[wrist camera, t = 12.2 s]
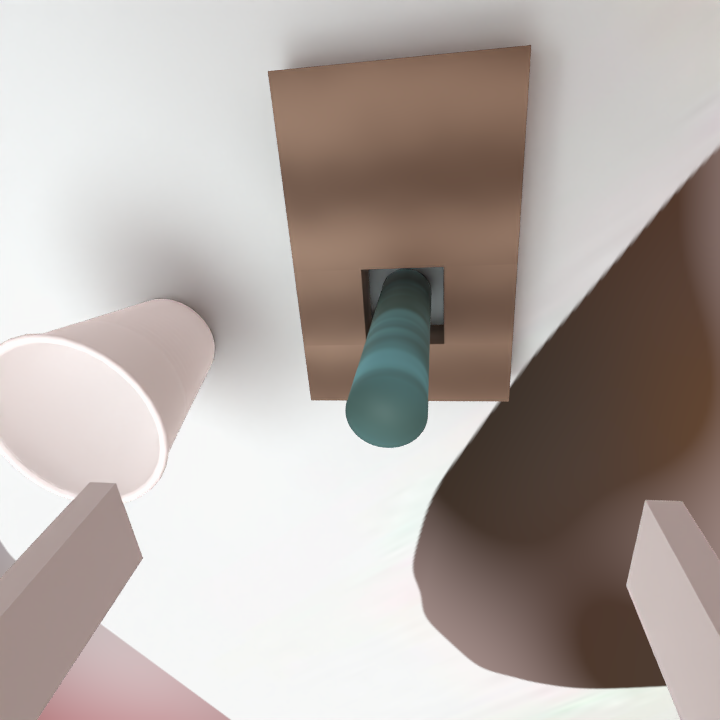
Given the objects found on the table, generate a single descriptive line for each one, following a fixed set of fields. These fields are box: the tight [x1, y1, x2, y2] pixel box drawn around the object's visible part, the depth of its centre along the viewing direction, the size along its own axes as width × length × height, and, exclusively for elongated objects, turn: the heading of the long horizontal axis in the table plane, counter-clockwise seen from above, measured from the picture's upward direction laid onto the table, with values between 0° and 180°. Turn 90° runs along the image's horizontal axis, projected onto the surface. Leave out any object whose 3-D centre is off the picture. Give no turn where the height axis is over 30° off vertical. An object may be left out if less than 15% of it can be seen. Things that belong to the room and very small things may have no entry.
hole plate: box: [268, 45, 531, 401], centre depth 28 cm, size 18×12×3 cm, turn 4°
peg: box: [346, 269, 431, 448], centre depth 24 cm, size 3×3×14 cm
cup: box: [0, 299, 215, 503], centre depth 29 cm, size 10×10×11 cm
